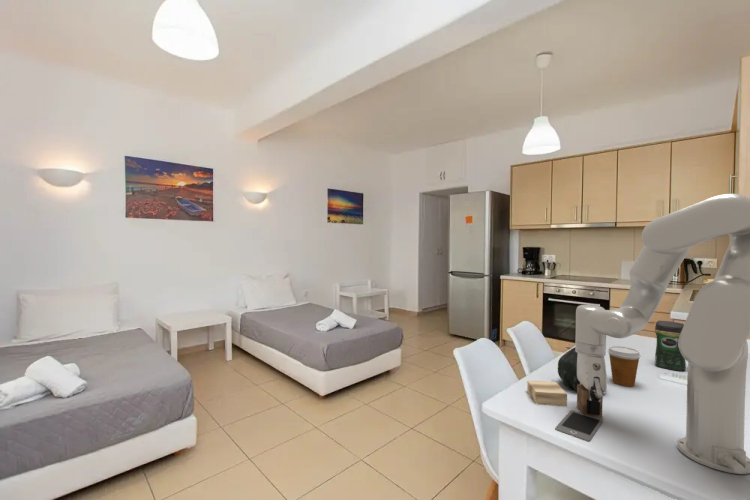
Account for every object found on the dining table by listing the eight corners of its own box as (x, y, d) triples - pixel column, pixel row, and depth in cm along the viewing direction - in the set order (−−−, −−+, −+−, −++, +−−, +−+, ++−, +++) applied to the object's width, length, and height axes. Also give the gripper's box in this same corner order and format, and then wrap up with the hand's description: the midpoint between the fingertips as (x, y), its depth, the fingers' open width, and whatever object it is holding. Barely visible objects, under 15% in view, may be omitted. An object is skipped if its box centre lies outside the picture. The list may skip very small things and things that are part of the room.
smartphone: (571, 411, 102) (571, 409, 102) (603, 421, 96) (603, 419, 96) (553, 431, 91) (553, 428, 91) (589, 443, 85) (589, 440, 85)
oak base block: (566, 406, 105) (567, 393, 105) (535, 404, 106) (535, 391, 106) (555, 394, 113) (556, 382, 113) (527, 392, 115) (527, 380, 115)
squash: (606, 367, 123) (575, 334, 125) (624, 385, 108) (589, 347, 110) (572, 389, 126) (543, 357, 128) (585, 410, 112) (552, 373, 114)
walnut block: (602, 417, 98) (602, 393, 98) (582, 415, 99) (583, 391, 99) (595, 409, 102) (595, 386, 102) (576, 407, 104) (577, 384, 104)
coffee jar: (686, 367, 138) (687, 322, 138) (685, 373, 132) (686, 325, 132) (655, 362, 145) (656, 318, 145) (653, 366, 139) (653, 321, 139)
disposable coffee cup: (646, 389, 117) (646, 354, 116) (614, 387, 119) (615, 352, 118) (631, 379, 126) (631, 346, 126) (602, 377, 128) (602, 344, 128)
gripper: (618, 358, 91) (617, 426, 91) (593, 340, 108) (592, 398, 108) (586, 356, 93) (585, 422, 93) (566, 339, 109) (566, 395, 110)
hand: (589, 408), depth 101 cm, fingers closed on walnut block, 5 cm apart
